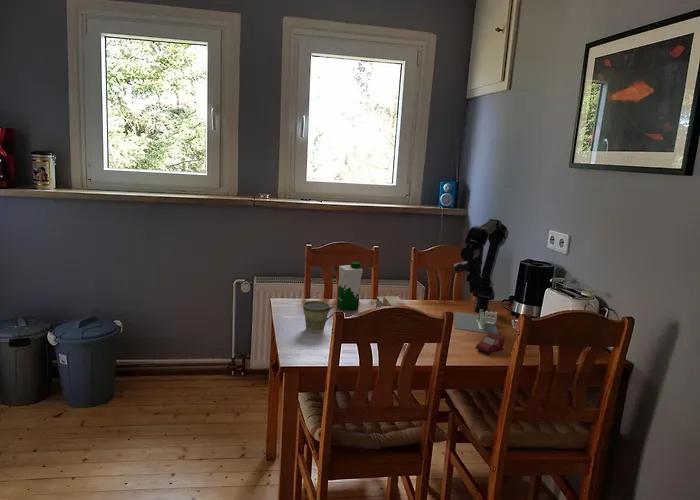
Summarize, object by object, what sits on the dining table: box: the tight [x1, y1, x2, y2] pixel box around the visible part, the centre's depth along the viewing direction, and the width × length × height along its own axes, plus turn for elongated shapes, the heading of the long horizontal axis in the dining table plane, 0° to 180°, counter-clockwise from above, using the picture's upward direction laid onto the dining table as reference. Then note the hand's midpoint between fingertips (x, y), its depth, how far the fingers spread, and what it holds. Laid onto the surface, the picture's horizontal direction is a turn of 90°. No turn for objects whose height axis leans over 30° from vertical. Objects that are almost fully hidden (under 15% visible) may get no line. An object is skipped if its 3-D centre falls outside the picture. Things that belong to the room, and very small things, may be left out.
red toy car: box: [474, 333, 506, 355], centre depth 193 cm, size 6×12×5 cm, turn 132°
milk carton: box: [336, 261, 364, 311], centre depth 226 cm, size 9×9×20 cm
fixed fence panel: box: [478, 309, 498, 324], centre depth 222 cm, size 7×2×5 cm, turn 79°
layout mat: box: [454, 311, 499, 335], centre depth 221 cm, size 22×17×1 cm
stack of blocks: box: [375, 295, 408, 309], centre depth 207 cm, size 21×6×12 cm, turn 13°
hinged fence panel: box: [479, 312, 486, 328], centre depth 217 cm, size 8×1×4 cm, turn 173°
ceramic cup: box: [302, 300, 338, 334], centre depth 198 cm, size 13×10×10 cm
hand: (471, 292), depth 223 cm, fingers closed
